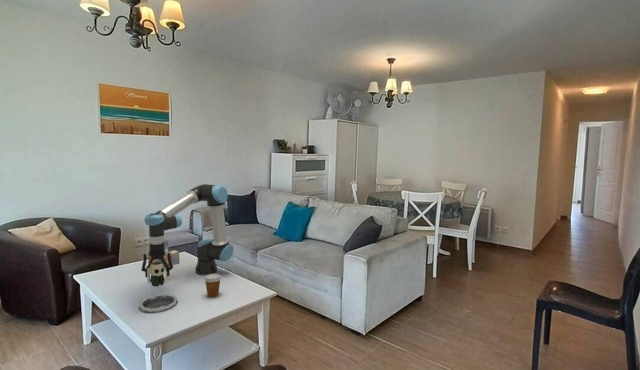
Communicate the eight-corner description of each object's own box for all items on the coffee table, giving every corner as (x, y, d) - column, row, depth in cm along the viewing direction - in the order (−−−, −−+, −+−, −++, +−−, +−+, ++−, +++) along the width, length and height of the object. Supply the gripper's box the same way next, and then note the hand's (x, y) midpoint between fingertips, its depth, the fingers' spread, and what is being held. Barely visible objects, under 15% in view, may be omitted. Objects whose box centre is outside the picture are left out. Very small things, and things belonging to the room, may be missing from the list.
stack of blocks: (174, 261, 265) (174, 246, 264) (179, 263, 262) (179, 247, 261) (148, 269, 248) (147, 253, 246) (153, 271, 244) (152, 254, 243)
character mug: (150, 289, 185) (149, 266, 183) (145, 286, 189) (144, 263, 188) (170, 284, 192) (169, 262, 191) (164, 281, 197) (164, 259, 196)
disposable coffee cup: (224, 293, 209) (224, 274, 208) (214, 299, 200) (214, 280, 199) (211, 291, 212) (211, 272, 211) (201, 297, 203) (201, 277, 202)
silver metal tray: (180, 295, 204) (180, 293, 204) (174, 311, 185) (174, 308, 185) (143, 298, 199) (143, 295, 199) (134, 314, 180) (134, 311, 180)
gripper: (178, 240, 195) (179, 278, 197) (137, 241, 190) (138, 281, 192) (176, 243, 188) (177, 283, 190) (133, 245, 182) (135, 286, 185)
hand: (157, 282), depth 191 cm, fingers closed on character mug, 8 cm apart
